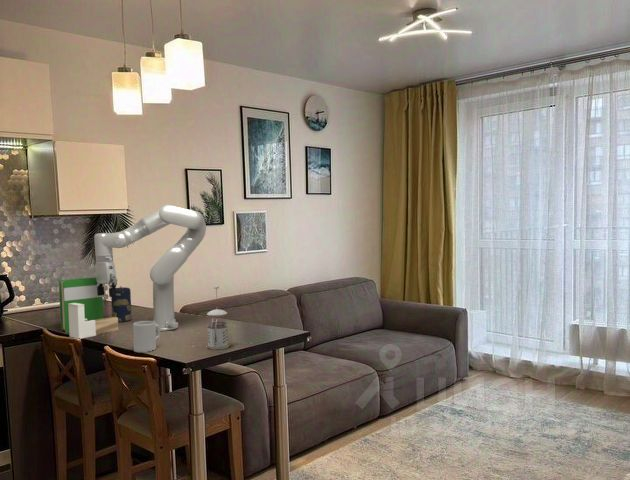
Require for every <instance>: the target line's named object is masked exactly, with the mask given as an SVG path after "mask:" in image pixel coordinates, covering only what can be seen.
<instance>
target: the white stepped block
mask: <svg viewBox="0 0 630 480" xmlns="http://www.w3.org/2000/svg"><path fill="white" fill-rule="evenodd" d="M68 310H69V332H68V333H69V338H72V337H75V338H74V339H77V338H80V339H85V338H90V337H95V336H97V335H96V327H95V320H91V321H85V320H87V319H85V314H84V304H79V303H70V304H68ZM80 339H79V340H80Z"/></svg>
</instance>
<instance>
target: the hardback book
mask: <svg viewBox="0 0 630 480" xmlns="http://www.w3.org/2000/svg"><path fill="white" fill-rule="evenodd" d="M95 277H96V276H95ZM95 277H83V278H73V279H72V278H71V279H60V280H58V290H59V291H58V292H59V315H60V317H59V318H60V319H59V320H60V331H61V332H63V331H64V333H65V334H67V333H69V310H68V304H70V303H79V304H84V314H85V319H87V320H88V321H91V320H98V319H104V295H101V296H98V295H97V287H96V283H95V279H94V278H95Z"/></svg>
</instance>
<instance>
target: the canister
mask: <svg viewBox="0 0 630 480" xmlns="http://www.w3.org/2000/svg"><path fill="white" fill-rule="evenodd" d="M131 296H132V295H131V288H130V287H122V285H121V286H119V287H116V296H114V297H110V298H111V299H110V300H111V301H110V302H111V317H117V318H118V323H120V322H121V323H122V322H127V321H128V322H129V321H131V320H132V318H133V317H132V297H131Z"/></svg>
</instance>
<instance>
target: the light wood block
mask: <svg viewBox="0 0 630 480" xmlns="http://www.w3.org/2000/svg"><path fill="white" fill-rule="evenodd" d="M85 321H88V320H85ZM95 327H96V336H97V335H100V334H101V333H102V334H106V332H107V333H112V332H116V330H117V331H119V322H118V318H117V317H112V316H111V317H110V316H109V317H105V318H104V319H98V320H95ZM111 331H112V332H111Z"/></svg>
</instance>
